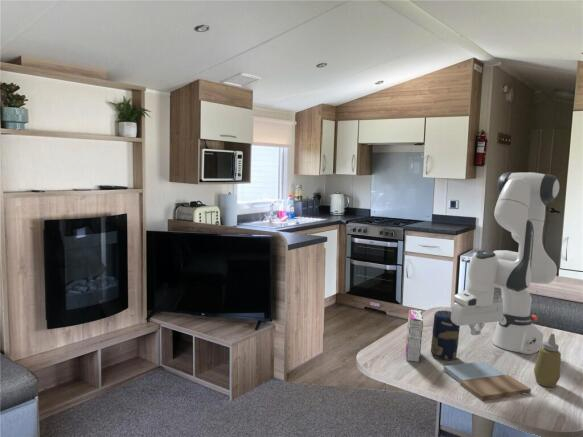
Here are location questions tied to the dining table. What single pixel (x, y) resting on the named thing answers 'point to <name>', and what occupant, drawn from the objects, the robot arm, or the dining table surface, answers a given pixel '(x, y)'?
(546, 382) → the squeeze bottle
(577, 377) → the dining table surface
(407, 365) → the dining table surface
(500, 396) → the floorboard
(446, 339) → the canister
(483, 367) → the plank
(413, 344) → the candy bar box
